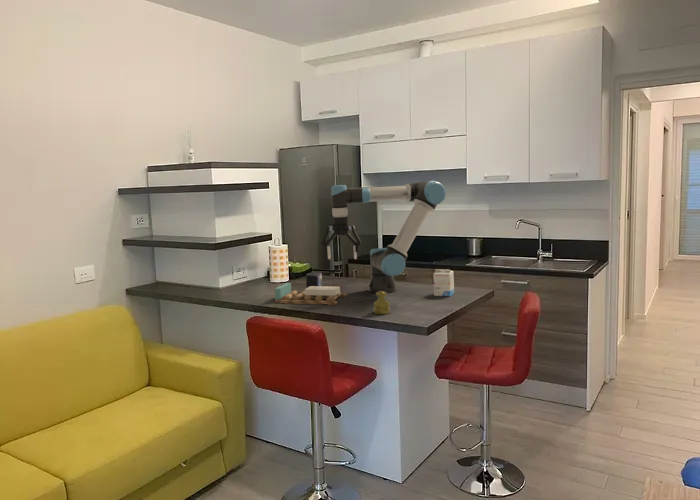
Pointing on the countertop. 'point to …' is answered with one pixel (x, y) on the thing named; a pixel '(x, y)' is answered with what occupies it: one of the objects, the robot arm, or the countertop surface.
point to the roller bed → (308, 298)
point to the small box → (314, 279)
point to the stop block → (282, 290)
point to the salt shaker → (381, 304)
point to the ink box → (443, 282)
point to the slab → (322, 290)
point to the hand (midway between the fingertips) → (342, 258)
